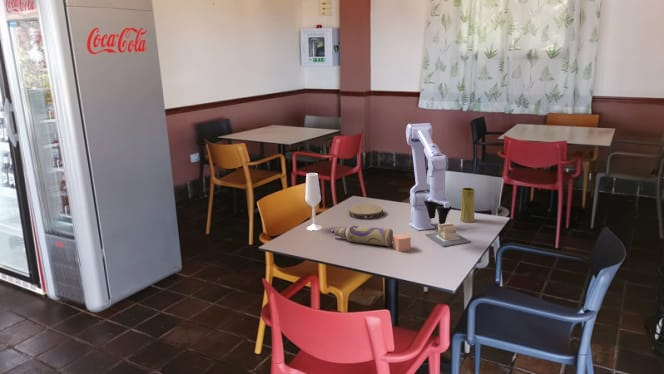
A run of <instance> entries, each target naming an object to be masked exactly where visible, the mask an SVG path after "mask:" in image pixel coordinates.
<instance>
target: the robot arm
mask: <svg viewBox="0 0 664 374" xmlns="http://www.w3.org/2000/svg"><path fill="white" fill-rule="evenodd" d="M432 135H433V127H432V124H431V123H429V122H427V123H425V122H424V123H408V124H407V125H406V129H405V137H406V143H407V145H408V146H410V147H411V154H412V162H413V163H412V164H413V170H414V178H415V179H414V180H415V184H414V185H413V186H412V187H411V188H410V190H409V194H410V195H409V202H410V205H411V209H410V222H408V225H409V226H410V227H412V228H414V229H415V230H417V231H426V230H432V229H435V228H436V227H435V226H434V225H432V219H435V218H436V215H437V216H438V224H445V223H447V222H446V221H447V219H448V218H447V217H448V215H449V213H450V211H451V209H452V206H451V202H449V200H448V199H447V198H446V171H448V168H449V160H448V159H449V158H448V156H447V155H446V154H443V153H442V152H441V150H440V147H439V145H437V144H436V143H434V141H433V138H432ZM425 157H426V159H427V169H428V175H429V183H428V180H427V179H428V178H427V170H426V160H425ZM438 204H439V205H438ZM436 213H437V214H436Z"/></svg>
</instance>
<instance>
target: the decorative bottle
mask: <svg viewBox="0 0 664 374" xmlns="http://www.w3.org/2000/svg"><path fill="white" fill-rule="evenodd" d="M330 233H331V234H332V235H335V236H337V237H340V238H343V239H345V238H346V240H347V242H350V243H357V244H358V243H359V244H368V245H378V246H383V247H385V246H386V247H390V246H392V245H393V235H394V232H393V229H392V228H385V227H383V228H382V227H376V226H375V227H374V226H364V225H353V224H352V225H349V226H348V228H346V227H341V228H332V229H331V230H330Z"/></svg>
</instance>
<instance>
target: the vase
mask: <svg viewBox="0 0 664 374" xmlns="http://www.w3.org/2000/svg"><path fill="white" fill-rule="evenodd" d="M475 191H476V190H475V188H474V187H463V188H462V189H461V203H460V218H459V219H460V222H463V223H474V222H475V221H476V220H475Z"/></svg>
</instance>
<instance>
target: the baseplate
mask: <svg viewBox="0 0 664 374" xmlns="http://www.w3.org/2000/svg"><path fill="white" fill-rule="evenodd" d="M425 237H427V238H428V239H429V240H432V241H433V242H435V243H436V244H438V245H439V246H440V247H443V248H447V247H451V246H453V247H454V246H459V245H464V244H471V243H472V242H471V240H469V239H468V238H466V237H464V236H462V235H461V234H459V233H457V232H456V238H455V239H449V240H444V239H442V238H440V237H439V236H438V231H437V232H432V233H426V234H425Z"/></svg>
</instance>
